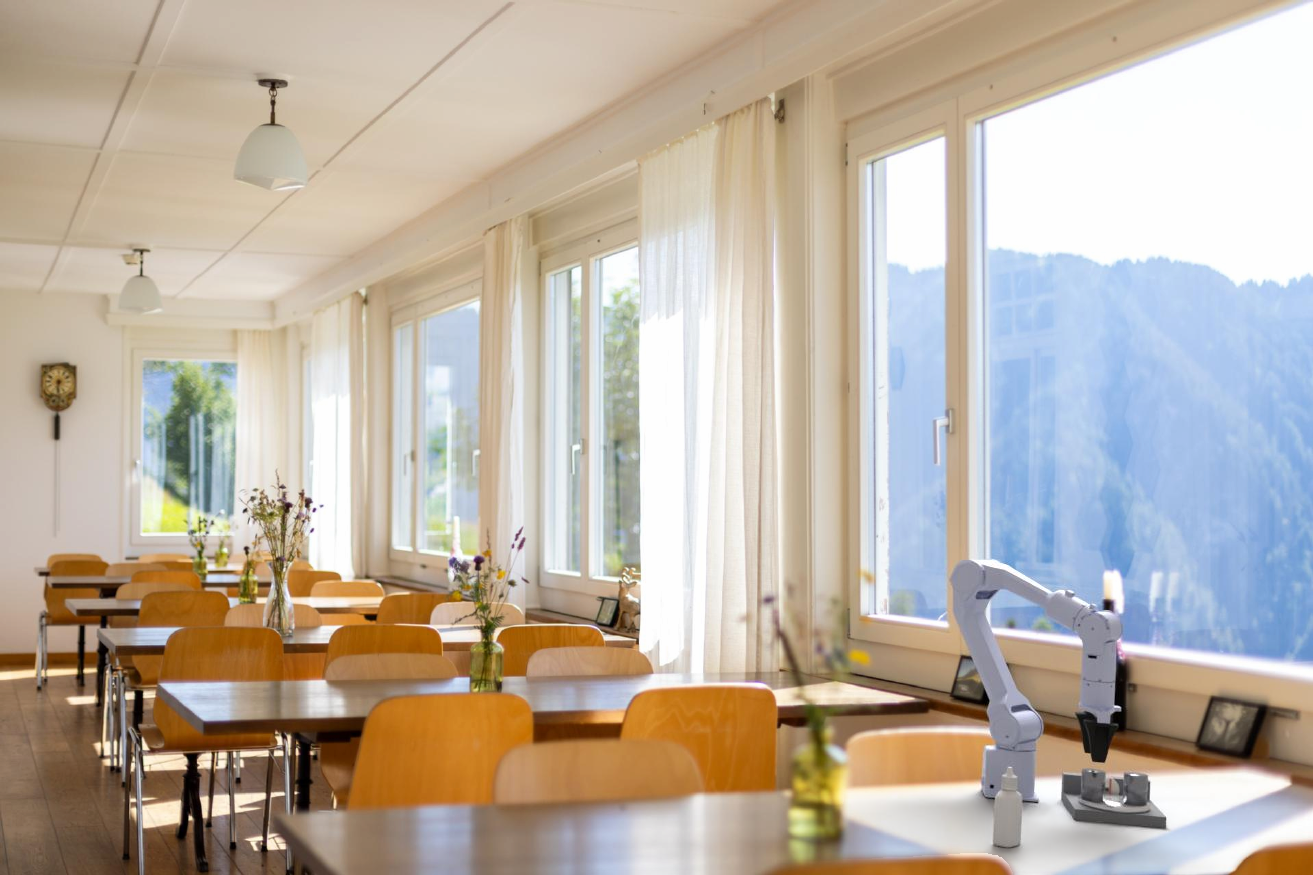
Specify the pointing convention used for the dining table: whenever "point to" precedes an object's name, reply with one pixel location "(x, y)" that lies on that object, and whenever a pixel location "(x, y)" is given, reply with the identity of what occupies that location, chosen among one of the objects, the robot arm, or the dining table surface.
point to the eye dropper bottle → (1007, 812)
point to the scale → (1081, 812)
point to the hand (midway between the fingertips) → (1094, 757)
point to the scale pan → (1115, 805)
